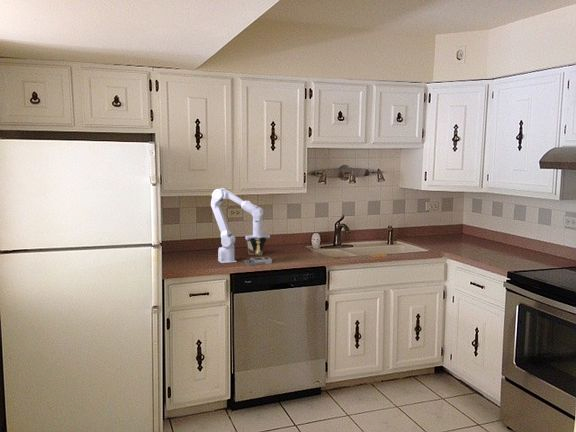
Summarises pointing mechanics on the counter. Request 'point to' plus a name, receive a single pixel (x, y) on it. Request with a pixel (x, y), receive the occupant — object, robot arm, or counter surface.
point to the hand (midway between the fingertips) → (257, 250)
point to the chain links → (258, 261)
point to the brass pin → (257, 248)
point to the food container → (250, 248)
